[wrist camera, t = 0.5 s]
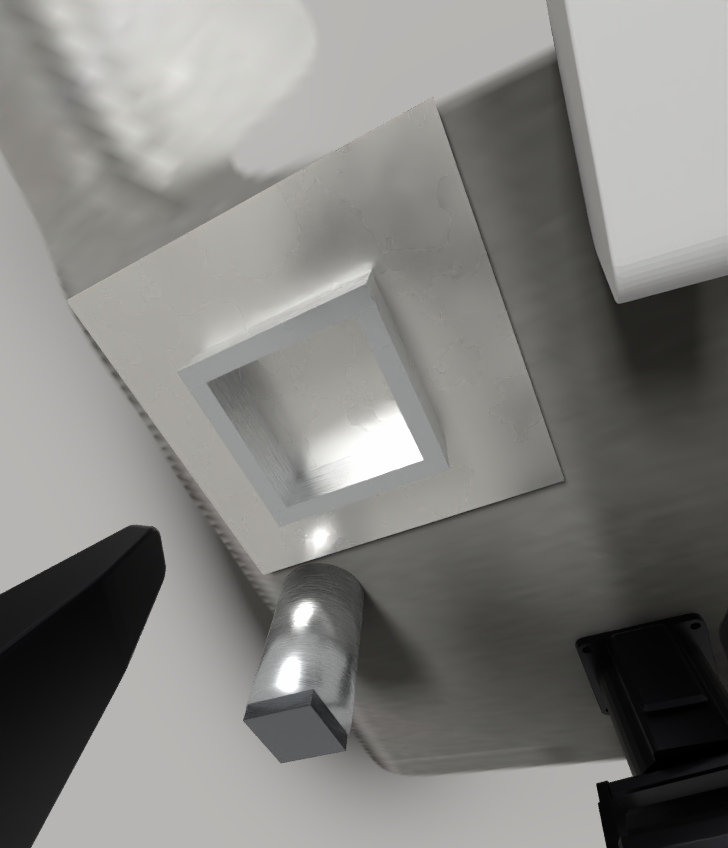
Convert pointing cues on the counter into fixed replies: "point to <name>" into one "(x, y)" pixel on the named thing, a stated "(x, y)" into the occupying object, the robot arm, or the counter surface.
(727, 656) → the robot arm
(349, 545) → the duct socket
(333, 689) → the sleeve
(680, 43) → the grey rounded block
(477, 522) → the counter surface
